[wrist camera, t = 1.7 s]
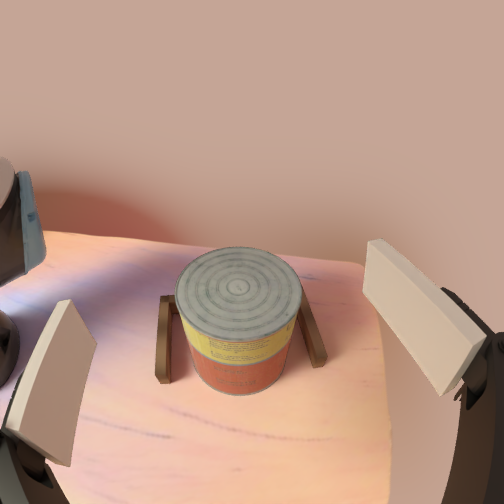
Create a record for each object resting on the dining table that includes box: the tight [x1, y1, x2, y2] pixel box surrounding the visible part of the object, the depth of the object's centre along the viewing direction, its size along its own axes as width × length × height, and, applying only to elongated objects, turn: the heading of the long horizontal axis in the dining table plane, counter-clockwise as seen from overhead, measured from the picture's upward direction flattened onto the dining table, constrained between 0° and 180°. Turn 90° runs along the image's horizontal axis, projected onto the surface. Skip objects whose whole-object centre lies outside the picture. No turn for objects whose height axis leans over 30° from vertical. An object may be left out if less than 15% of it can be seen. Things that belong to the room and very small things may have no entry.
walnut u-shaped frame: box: [155, 285, 328, 384], centre depth 33 cm, size 12×19×2 cm, turn 98°
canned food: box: [175, 247, 302, 396], centre depth 28 cm, size 11×11×12 cm
